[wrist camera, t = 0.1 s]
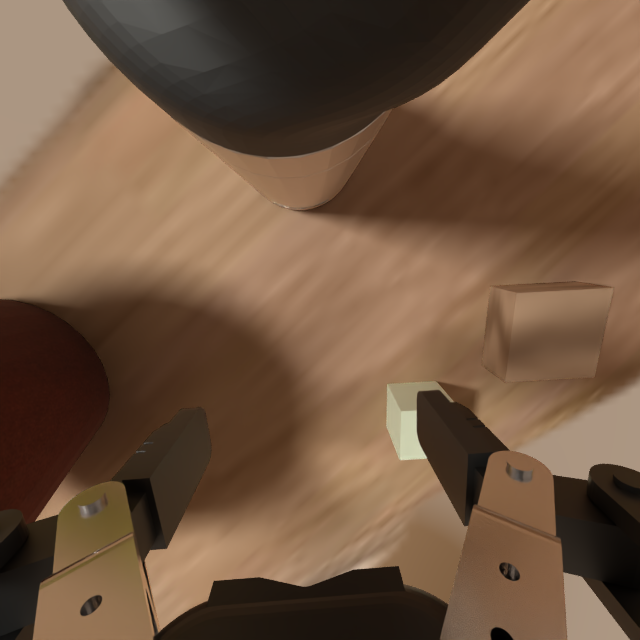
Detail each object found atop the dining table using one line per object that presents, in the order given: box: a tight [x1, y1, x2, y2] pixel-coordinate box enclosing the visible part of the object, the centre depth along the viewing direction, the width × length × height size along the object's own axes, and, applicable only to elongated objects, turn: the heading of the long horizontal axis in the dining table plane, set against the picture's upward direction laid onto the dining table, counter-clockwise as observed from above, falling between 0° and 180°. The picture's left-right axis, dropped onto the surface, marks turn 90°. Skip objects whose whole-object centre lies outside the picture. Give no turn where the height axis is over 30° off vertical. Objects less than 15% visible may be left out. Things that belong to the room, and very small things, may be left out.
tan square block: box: [482, 281, 614, 383], centre depth 27 cm, size 8×8×4 cm
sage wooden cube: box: [387, 381, 454, 460], centre depth 28 cm, size 5×5×5 cm
